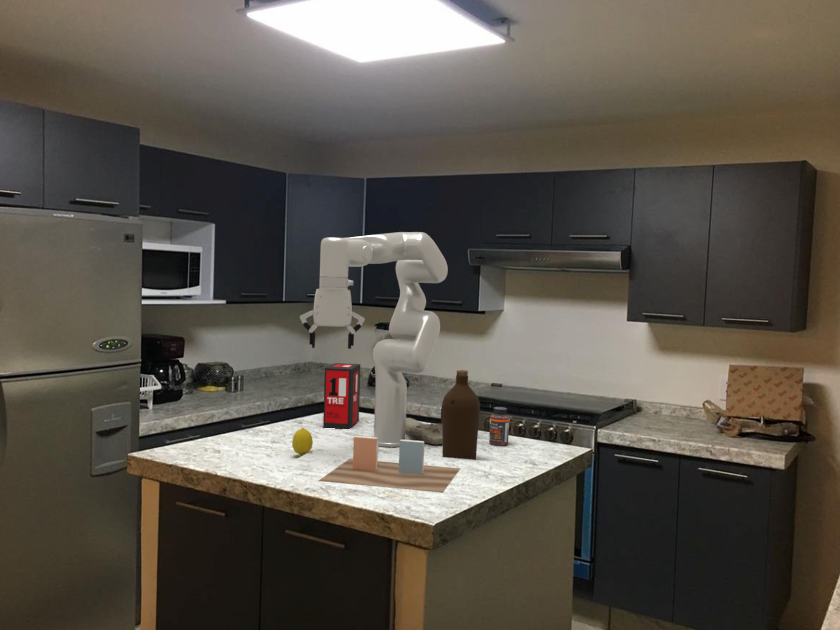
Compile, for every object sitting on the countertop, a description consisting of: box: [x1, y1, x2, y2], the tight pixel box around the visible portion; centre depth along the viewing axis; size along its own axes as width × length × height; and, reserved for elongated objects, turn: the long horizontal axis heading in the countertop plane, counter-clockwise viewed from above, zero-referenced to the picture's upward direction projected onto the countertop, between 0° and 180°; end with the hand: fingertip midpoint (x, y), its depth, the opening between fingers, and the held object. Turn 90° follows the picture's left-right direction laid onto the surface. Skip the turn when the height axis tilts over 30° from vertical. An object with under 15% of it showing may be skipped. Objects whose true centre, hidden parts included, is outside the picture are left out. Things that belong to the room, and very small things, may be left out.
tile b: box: [398, 439, 425, 475], centre depth 192 cm, size 2×6×8 cm, turn 77°
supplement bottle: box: [488, 406, 510, 447], centre depth 237 cm, size 6×6×11 cm
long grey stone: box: [405, 417, 443, 445], centre depth 248 cm, size 35×5×10 cm
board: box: [318, 458, 461, 498], centre depth 190 cm, size 24×30×2 cm
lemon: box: [291, 427, 314, 457], centre depth 212 cm, size 6×6×8 cm
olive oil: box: [441, 369, 481, 461], centre depth 214 cm, size 11×11×25 cm
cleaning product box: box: [322, 362, 361, 430], centre depth 261 cm, size 16×9×20 cm, turn 174°
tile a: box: [352, 435, 379, 470], centre depth 194 cm, size 2×6×8 cm, turn 77°
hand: (331, 348), depth 205 cm, fingers open, 9 cm apart
